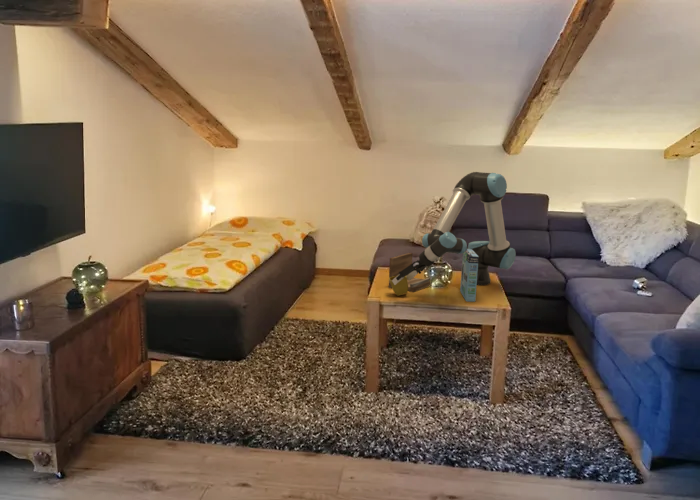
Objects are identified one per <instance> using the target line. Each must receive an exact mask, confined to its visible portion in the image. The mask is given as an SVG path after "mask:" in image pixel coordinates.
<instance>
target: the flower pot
mask: <svg viewBox="0 0 700 500" xmlns="http://www.w3.org/2000/svg"><path fill="white" fill-rule="evenodd" d="M397 276H398V275H397ZM395 277H396V276H393V277H390V278H389V277H388V281H389V280H390V283H391V286H392V288H391V289H392V291H393V293H394V294H395V295H396V296H401V295H405V294H406V295H407V294H408V292H409V291H408V282H407V276H405V277H404V278H403V279H402V280H401V281H399V282H398V283H397V284H396V285H394V283H393V282H392V280H393V279H394V278H395Z"/></svg>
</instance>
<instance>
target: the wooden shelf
mask: <svg viewBox="0 0 700 500" xmlns="http://www.w3.org/2000/svg"><path fill="white" fill-rule="evenodd" d="M412 263H413V252H407V253H404V254H400V255H395V256H392V257H389V267H388V269H389V270H388V271H389V273H388V289H392V286H391V283H390V280H389V278H390V277H393V276H397V275H399V272H401V271H402V270H404V269H405V268H407V267H408V266H410V265H411V264H412ZM406 276H407V275H406ZM429 278H430V277H427V278H418V277H413V278H412V279H411V280H410V281H409V280H408V279H407V282H408V292H410V293H415V292H418V291H420V290H422V289H423V290H424V289H425V288H429V287H430V286H429V285H430V281H429V280H430V279H429ZM428 286H429V287H428Z"/></svg>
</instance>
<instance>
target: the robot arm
mask: <svg viewBox="0 0 700 500" xmlns="http://www.w3.org/2000/svg"><path fill="white" fill-rule="evenodd" d="M507 187H508V185H507V181H506V178H505V177H504V176H503V175H502V174H500V173H496V172H480V171H473V172H469V173H468V174H466V175H464V176H463V177H462V178H461V179H460V180H459V181H458V182H457V183H456V184H455V186H454V188H453V190H452V195H451V197H450V198H449V200H448V202H447V204H446V206H445V208H444V209H443V211H442V213H441V215H440V216H439V218H438V220H437V221H436V223H435V225H434V226H433V229H432V230H431V232H428V233H425V234H424V235H423V236H422V240H421V244H422V247H424V248H425V249H424V250H423V251H422V252H421V253H420V254H419V255H418V259H417V260H416V261H413V262H412V264H411V265H410V266H408V267H407V268H405V269H404V270H402V271H401V272H399V275H398V276H396V277H395V278H394V279H393V280H392V282H393V283H394V285H396V284H397V283H398V282H399V281H401V280H402V279H403V278H404V277H405V276H406V275H407V279H408V280H409V281H410V280H411V279H412V278H416V276H417V275H418V274H419V275H421V274H422V272H423V271H424V270H425V269H426V268H427V267H431V266H432V265H433V264H434V263H435V262H436V261H440V258H442V256H444V255H445V254H446V253H449V254H450V253H451V254H455V255H459V254H463V253H464V252H465V250H466V249H472V250H473V251H474V252H475V253H476V254H477V255H478V256H479V260H478V272H477V286H489V285H490V284H491V276H490V275H491V274H490V272H489V267H491V268H492V267H493V268H496V269H500V270H502V269H503V270H509V269H510V268H511V267H512V266H513V264H514V262H515V260H516V255H517V254H516V253H517V252H516V249H515V248H513V247H511V243H510V241H508V240H507V237H506V229H505V228H506V227H505V222H504V221H505V220H504V215H503V207H502V200H503V199H504V196H505V195H506V194H507V189H508V188H507ZM472 196H479V200H480V202H481V203H483V205H484V212H485V219H486V225H487V227H486V228H487V233H488V237H489V240H477V241H476V240H475V241H471V242H469V243H468V246H467V242H466V240H464V239H463V238H461V237H456V236H455V235H454V234H453V232H450V230H451V229H452V226H453V225H454V224H455V222H456V219H457V218H458V216H459V214H460V212H462V210H463V207H464V205H465V203H466V201H469V200H470V198H471V197H472Z"/></svg>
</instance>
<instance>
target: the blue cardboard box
mask: <svg viewBox="0 0 700 500" xmlns="http://www.w3.org/2000/svg"><path fill="white" fill-rule="evenodd" d="M461 259H462V262H461V272H460V273H461V274H460V290H459V291H460V294H461V295H462V297H463V299H464V300H465V302H467V303H469V302H470V303H471V302H472V303H475V302H476V297H477V295H476V294H477V286H478V285H477V272H478V260H479V256H478V255H477V254H476V253H475V252H474V251H473V250H472V249H468V248H466V250H465V252H464V253H462V258H461Z"/></svg>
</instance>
